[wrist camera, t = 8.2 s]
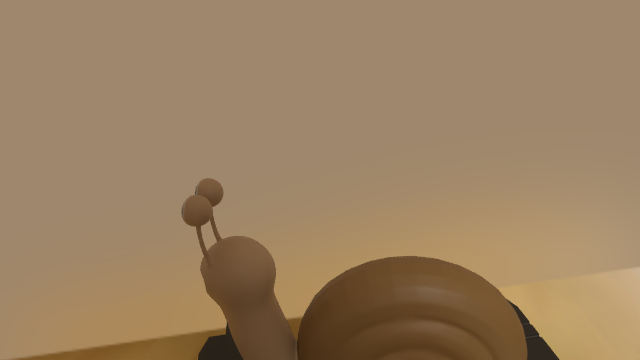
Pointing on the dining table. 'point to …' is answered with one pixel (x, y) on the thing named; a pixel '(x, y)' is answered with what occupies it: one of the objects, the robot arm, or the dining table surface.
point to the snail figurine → (356, 305)
